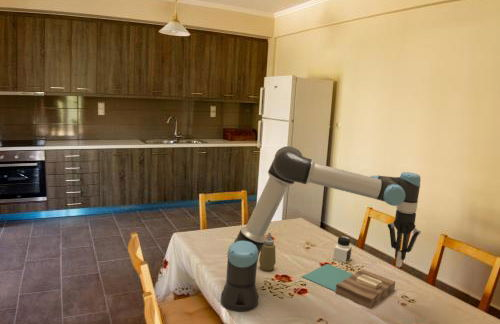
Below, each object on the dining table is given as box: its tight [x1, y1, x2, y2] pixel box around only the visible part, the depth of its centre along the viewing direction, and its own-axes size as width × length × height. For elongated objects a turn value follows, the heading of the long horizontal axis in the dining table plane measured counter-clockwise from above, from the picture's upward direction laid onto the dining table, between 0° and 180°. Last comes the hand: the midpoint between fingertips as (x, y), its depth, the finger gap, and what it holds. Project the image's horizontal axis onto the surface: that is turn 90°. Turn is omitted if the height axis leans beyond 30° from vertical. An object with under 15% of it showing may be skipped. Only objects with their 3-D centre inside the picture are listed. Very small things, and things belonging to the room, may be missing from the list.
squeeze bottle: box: [258, 232, 277, 272], centre depth 186 cm, size 8×8×18 cm
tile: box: [356, 274, 382, 290], centre depth 169 cm, size 6×9×2 cm, turn 47°
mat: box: [301, 263, 355, 293], centre depth 182 cm, size 22×18×1 cm
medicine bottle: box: [332, 236, 352, 264], centre depth 203 cm, size 7×7×12 cm
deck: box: [335, 268, 396, 309], centre depth 170 cm, size 24×16×4 cm, turn 137°
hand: (398, 265), depth 160 cm, fingers closed
